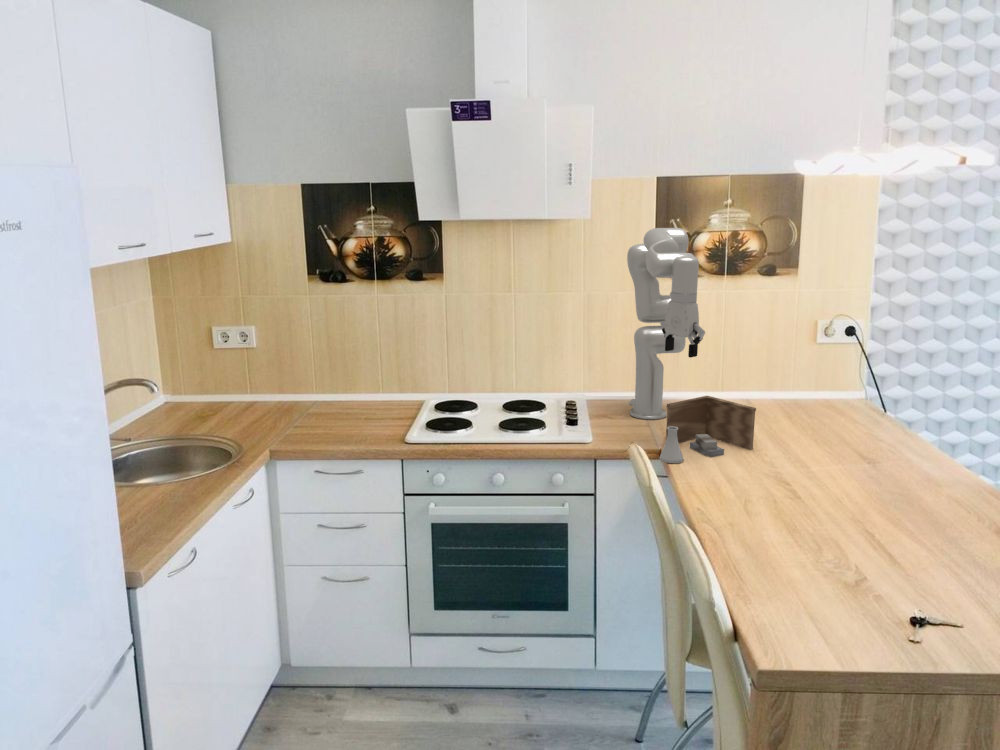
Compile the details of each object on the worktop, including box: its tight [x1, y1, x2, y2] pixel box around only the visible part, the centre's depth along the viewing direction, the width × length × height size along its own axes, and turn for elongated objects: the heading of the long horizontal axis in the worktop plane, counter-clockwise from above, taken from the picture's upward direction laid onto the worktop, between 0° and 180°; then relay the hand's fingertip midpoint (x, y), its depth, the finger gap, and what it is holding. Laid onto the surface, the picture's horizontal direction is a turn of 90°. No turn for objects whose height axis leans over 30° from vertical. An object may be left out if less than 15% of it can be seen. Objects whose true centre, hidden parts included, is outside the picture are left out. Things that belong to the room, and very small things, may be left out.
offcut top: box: [694, 434, 718, 450], centre depth 260 cm, size 8×4×2 cm, turn 9°
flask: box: [658, 426, 685, 464], centre depth 252 cm, size 7×7×10 cm
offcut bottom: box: [689, 441, 725, 458], centre depth 261 cm, size 10×5×2 cm, turn 25°
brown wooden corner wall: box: [665, 395, 757, 451], centre depth 264 cm, size 19×18×13 cm
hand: (680, 353), depth 261 cm, fingers open, 9 cm apart
